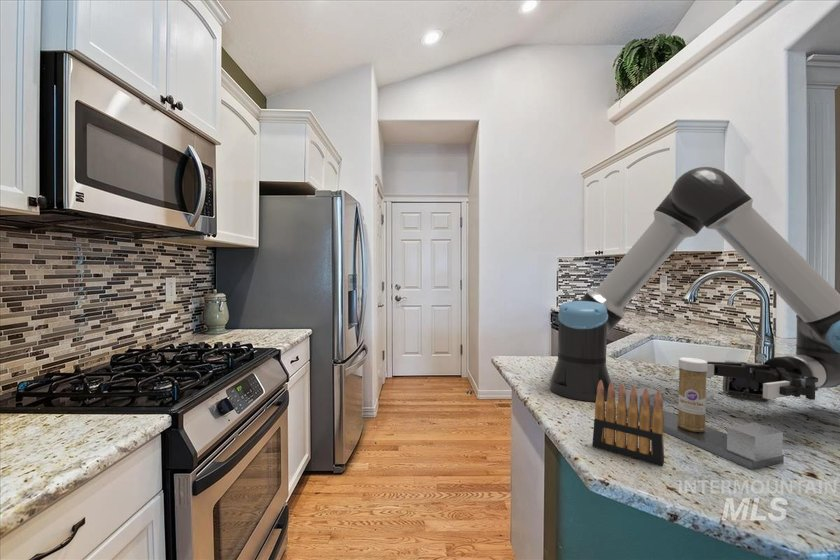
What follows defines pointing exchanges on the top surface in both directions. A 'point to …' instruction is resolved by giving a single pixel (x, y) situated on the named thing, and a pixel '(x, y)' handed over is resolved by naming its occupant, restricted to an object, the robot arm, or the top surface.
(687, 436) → the rail
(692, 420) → the sprinkles bottle
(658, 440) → the ammunition clip
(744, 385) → the electrical switch
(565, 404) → the top surface
